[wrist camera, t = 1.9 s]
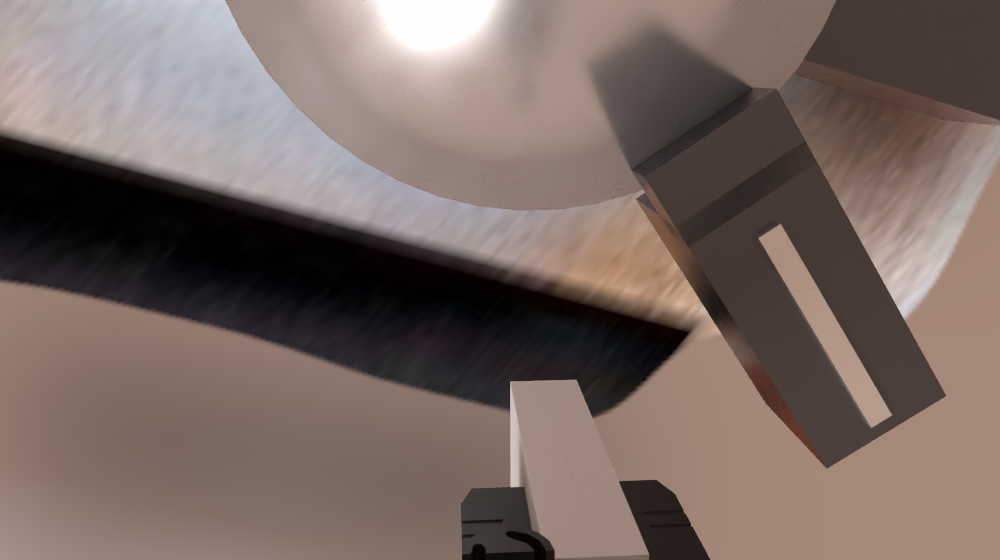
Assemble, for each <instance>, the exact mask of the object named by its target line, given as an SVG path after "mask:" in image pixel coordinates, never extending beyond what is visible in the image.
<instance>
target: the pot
mask: <svg viewBox="0 0 1000 560" xmlns="http://www.w3.org/2000/svg"><path fill="white" fill-rule="evenodd" d="M793 74H797V75H800V76H803V77H806V78H810V79H813V80H816V81H819V82H823V83H826V84H829V85H832V86H836V87H839V88H842V89H845V90H849V91H852V92H855V93H858V94H862V95H865V96H868V97H871V98H875V99H878V100H881V101H884V102H888V103H891V104H894V105H897V106H901V107H904V108H907V109H910V110H914V111H917V112H920V113H923V114H927V115H930V116H933V117H936V118H940V119H943V120H951V121H961V122H971V123H981V124H991V125H1000V0H836V2H835V4H834V6H833V8H832V10H831V12H830V14H829V16H828V19H827V21H826V23H825V25H824V27H823V29H822V31H821V32H820V34H819V35H818V37H817V39H816V40H815V42H814V43H813V45H812V46H811V48H810V50H809V51H808V53H807V54H806V56H805V58H804V59H803V61H802V62H801V64H800V65H799V67H798V68H797V70H796V71H795V72H794V73H793Z"/></svg>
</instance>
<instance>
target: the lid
mask: <svg viewBox="0 0 1000 560" xmlns="http://www.w3.org/2000/svg"><path fill="white" fill-rule="evenodd" d="M225 1H226V3H227V5H228V7H229V9H230V11H231V13H232V15H233V17H234V19H235V21H236V23H237V25H238V27H239V29H240V31H241V33H242V35H243V36H244V38H245V39H246V41H247V42H248V44H249V45H250V47H251V48H252V50H253V51H254V53H255V54H256V56H257V57H258V59H259V60H260V62H261V63H262V65H263V67H264V68H265V70H266V71H267V73H268V74H269V75H270V76H271V77H272V78H273V80H274V81H275V82H276V83H277V84H278V86H279V87H280V88H281V89H282V90H283V91H284V93H285V94H286V95H287V96H288V97H289V99H290V100H291V101H292V102H293V103H294V105H295V106H296V107H297V108H298V109H299V110H300V111H302V112H303V113H304V114H305V115H306V116H307V117H308V118H309V119H310V120H311V121H312V122H313V123H314V124H316V125H317V126H318V127H319V128H320V129H321V130H322V131H323V132H324V133H325V134H326V135H327V136H329V137H330V138H331V139H333V140H334V141H335V142H337V143H338V144H340V145H341V146H342V147H344V148H345V149H347V150H348V151H349V152H351V153H352V154H354V155H355V156H356V157H358V158H359V159H361V160H362V161H363V162H365V163H367V164H369V165H371V166H373V167H374V168H376V169H378V170H380V171H382V172H384V173H385V174H387V175H389V176H391V177H393V178H395V179H396V180H398V181H400V182H403V183H405V184H408V185H411V186H413V187H416V188H418V189H421V190H423V191H426V192H429V193H431V194H434V195H436V196H439V197H443V198H447V199H452V200H456V201H460V202H464V203H468V204H472V205H476V206H483V207H492V208H501V209H510V210H557V209H564V208H571V207H577V206H584V205H591V204H597V203H600V202H604V201H607V200H611V199H614V198H618V197H621V196H625V195H628V194H632V193H635V192H638V191H640V190H642V189H643V190H644V191H645V193H644V194H643V195H641V196H640V197H638V198H637V199H636V200H637V201H638V203H639V204H640V206H641V208H642V209H643V211H644V212H645V214H646V215H647V217H648V219H649V220H650V222H651V223H652V225H653V226H654V228H655V230H656V231H657V233H658V234H659V236H660V238H661V239H662V241H663V242H664V244H665V245H666V247H667V249H668V250H669V252H670V253H671V255H672V256H673V258H674V260H675V261H676V263H677V264H678V266H679V267H680V269H681V271H682V272H683V274H684V275H685V277H686V278H687V280H688V282H689V283H690V285H691V286H692V288H693V290H694V291H695V293H696V294H697V296H698V297H699V299H700V301H701V302H702V304H703V305H704V307H705V308H706V310H707V312H708V313H709V315H710V316H711V318H712V319H713V321H714V323H715V324H716V326H717V327H718V329H719V330H720V332H721V334H722V335H723V337H724V338H725V340H726V342H727V343H728V345H729V346H730V348H731V349H732V351H733V352H734V354H735V356H736V357H737V359H738V360H739V362H740V363H741V365H742V367H743V368H744V370H745V371H746V373H747V375H748V376H749V378H750V379H751V380H752V382H753V384H754V385H755V387H756V389H757V390H758V392H759V393H760V395H761V397H762V398H763V400H764V401H765V403H766V404H767V405H768V406H769V407H770V408H771V410H772V411H773V412H774V413H775V414H776V415H777V416H778V417H779V418H780V419H781V420H782V421H783V422H784V423H785V425H787V427H788V428H789V429H790V430H791V431H792V432H793V433H794V434H795V435H796V436H797V437H798V438H799V439H800V440H801V442H802V443H803V444H804V445H805V446H806V447H807V448H808V449H809V450H810V451H811V452H812V453H813V454H814V455H815V457H816V458H817V459H818V460H819V461H820V462H821V463H822V464H823V465H824V466H825V467H826V468H828V467H830V466H832V465H833V464H835V463H837V462H838V461H840V460H842V459H843V458H845V457H847V456H848V455H850V454H852V453H853V452H855V451H856V450H858V449H860V448H861V447H863V446H865V445H866V444H868V443H870V442H871V441H873V440H875V439H876V438H878V437H879V436H881V435H883V434H884V433H886V432H888V431H889V430H891V429H893V428H894V427H896V426H898V425H899V424H901V423H903V422H904V421H906V420H907V419H909V418H910V417H912V416H914V415H916V414H917V413H919V412H921V411H922V410H924V409H926V408H927V407H929V406H930V405H932V404H934V403H935V402H937V401H939V400H940V399H942V398H944V397H945V396H946V395H945V393H944V391H943V389H942V387H941V386H940V384H939V382H938V380H937V378H936V377H935V375H934V373H933V371H932V369H931V368H930V366H929V364H928V362H927V360H926V358H925V357H924V355H923V353H922V351H921V349H920V348H919V346H918V344H917V342H916V340H915V339H914V337H913V335H912V333H911V331H910V330H909V328H908V326H907V324H906V322H905V320H904V319H903V317H902V315H901V313H900V311H899V310H898V308H897V306H896V304H895V302H894V301H893V299H892V297H891V295H890V293H889V292H888V290H887V288H886V286H885V284H884V282H883V281H882V279H881V277H880V275H879V273H878V272H877V270H876V268H875V266H874V264H873V263H872V261H871V259H870V257H869V255H868V254H867V252H866V250H865V248H864V246H863V244H862V243H861V241H860V239H859V237H858V235H857V234H856V232H855V230H854V228H853V226H852V225H851V223H850V221H849V219H848V217H847V216H846V214H845V212H844V210H843V208H842V207H841V205H840V203H839V201H838V199H837V197H836V196H835V194H834V192H833V190H832V188H831V187H830V185H829V183H828V181H827V179H826V178H825V176H824V174H823V172H822V170H821V169H820V167H819V165H818V163H817V161H816V159H815V158H814V156H813V154H812V152H811V150H810V149H809V147H808V145H807V143H806V141H805V140H804V138H803V136H802V134H801V132H800V131H799V129H798V127H797V125H796V123H795V121H794V120H793V118H792V116H791V114H790V112H789V111H788V109H787V107H786V105H785V103H784V102H783V100H782V98H781V96H780V94H779V93H778V92H779V91H780V89H781V88H782V87H783V86H784V84H785V83H786V82H787V81H788V79H789V78H790V77H791V76H792V75H793V73H794V72H795V71H796V70H797V68H798V67H799V65H800V64H801V62H802V61H803V59H804V58H805V56H806V54H807V53H808V51H809V50H810V48H811V46H812V45H813V43H814V42H815V40H816V39H817V37H818V35H819V34H820V32H821V31H822V29H823V27H824V25H825V23H826V21H827V19H828V16H829V14H830V12H831V10H832V8H833V6H834V4H835V2H836V0H225Z"/></svg>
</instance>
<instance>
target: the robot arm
mask: <svg viewBox="0 0 1000 560" xmlns="http://www.w3.org/2000/svg"><path fill="white" fill-rule="evenodd" d="M510 409H511V487H506V488H504V487H503V488H478V489H471V491H470V492H469V493H468V495H467V496H466V498H465V499H464V501H463V502H462V503H461V520H462V521H461V522H462V560H710V559H709V557H708V555H707V553H706V551H705V549H704V547H703V545H702V544H701V542H700V540H699V538H698V536H697V534H696V533H695V531H694V529H693V527H691V523H690V521H689V519H688V518H687V516H686V514H685V513H684V512H683V508H682V507H681V505H680V503H679V501H678V499H677V497H676V495H675V494H674V493H673V492H672V491H670V490H669V489H667V488H666V487H665V486H664V485H662V484H661V483H660V482H658V481H657V480H641V481H618V479H617V476H616V474H615V471H614V469H613V467H612V464H611V462H610V460H609V457H608V455H607V452H606V450H605V447H604V445H603V443H602V440H601V438H600V435H599V433H598V431H597V428H596V426H595V423H594V421H593V419H592V416H591V414H590V411H589V409H588V407H587V404H586V402H585V399H584V397H583V395H582V392H581V390H580V387H579V385H578V383H577V380H552V381H517V382H510Z"/></svg>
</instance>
